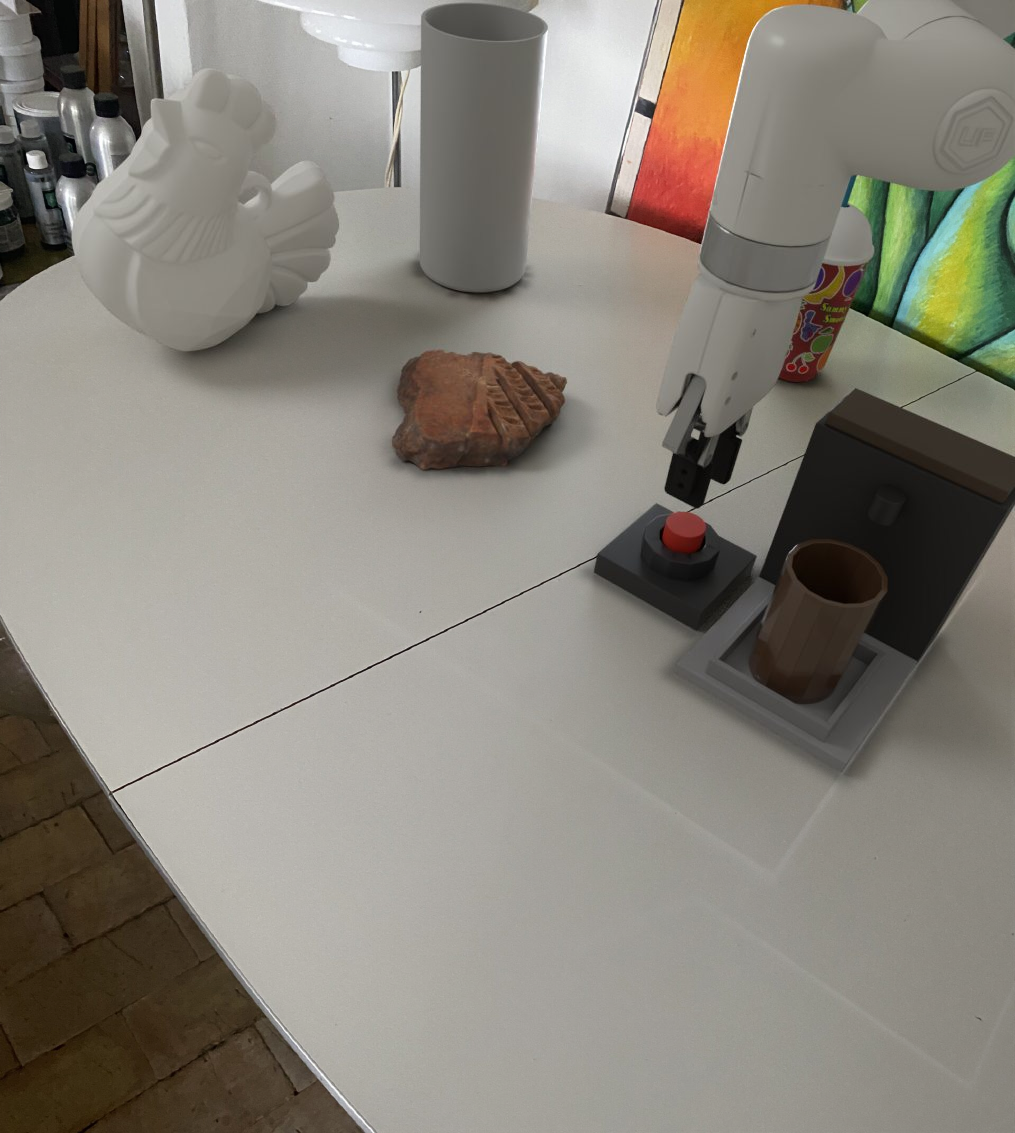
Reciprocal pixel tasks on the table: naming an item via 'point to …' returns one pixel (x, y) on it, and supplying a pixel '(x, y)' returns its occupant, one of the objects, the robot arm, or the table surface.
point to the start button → (684, 532)
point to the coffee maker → (892, 537)
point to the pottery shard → (472, 409)
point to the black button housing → (674, 569)
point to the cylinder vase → (478, 142)
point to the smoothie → (830, 293)
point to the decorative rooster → (203, 220)
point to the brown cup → (816, 619)
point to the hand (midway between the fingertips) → (697, 485)
